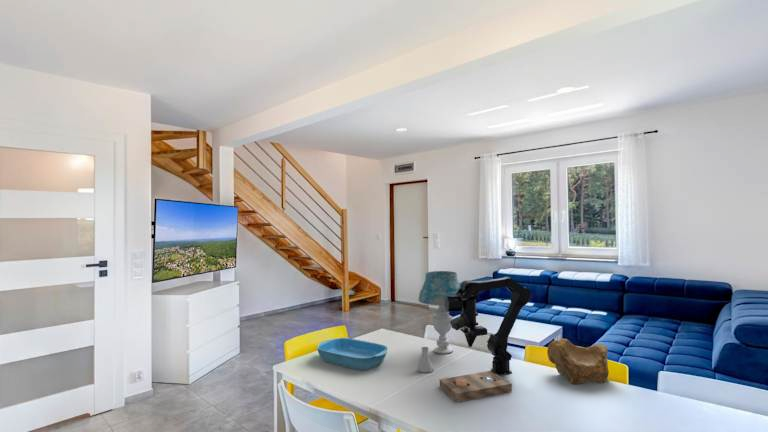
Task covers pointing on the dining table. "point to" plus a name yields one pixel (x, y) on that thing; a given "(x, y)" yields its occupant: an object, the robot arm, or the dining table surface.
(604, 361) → the rough brown rock
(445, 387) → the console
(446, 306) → the robot arm
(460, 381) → the peach rounded cylinder
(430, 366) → the flask
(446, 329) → the table lamp
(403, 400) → the dining table surface
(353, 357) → the casserole dish
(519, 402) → the dining table surface
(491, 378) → the steel plunger
